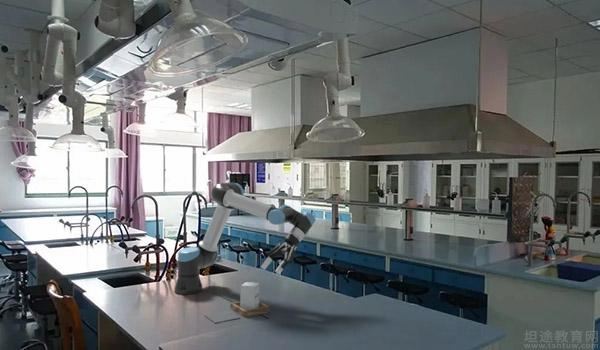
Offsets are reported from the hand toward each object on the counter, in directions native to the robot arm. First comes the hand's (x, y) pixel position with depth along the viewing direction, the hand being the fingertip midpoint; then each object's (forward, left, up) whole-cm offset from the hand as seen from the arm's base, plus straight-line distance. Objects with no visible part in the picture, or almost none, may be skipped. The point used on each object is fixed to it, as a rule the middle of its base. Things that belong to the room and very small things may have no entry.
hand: (269, 270), depth 203 cm
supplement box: (0, -11, -18) cm, 21 cm away
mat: (+2, -26, -17) cm, 31 cm away
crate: (0, -11, -17) cm, 21 cm away
